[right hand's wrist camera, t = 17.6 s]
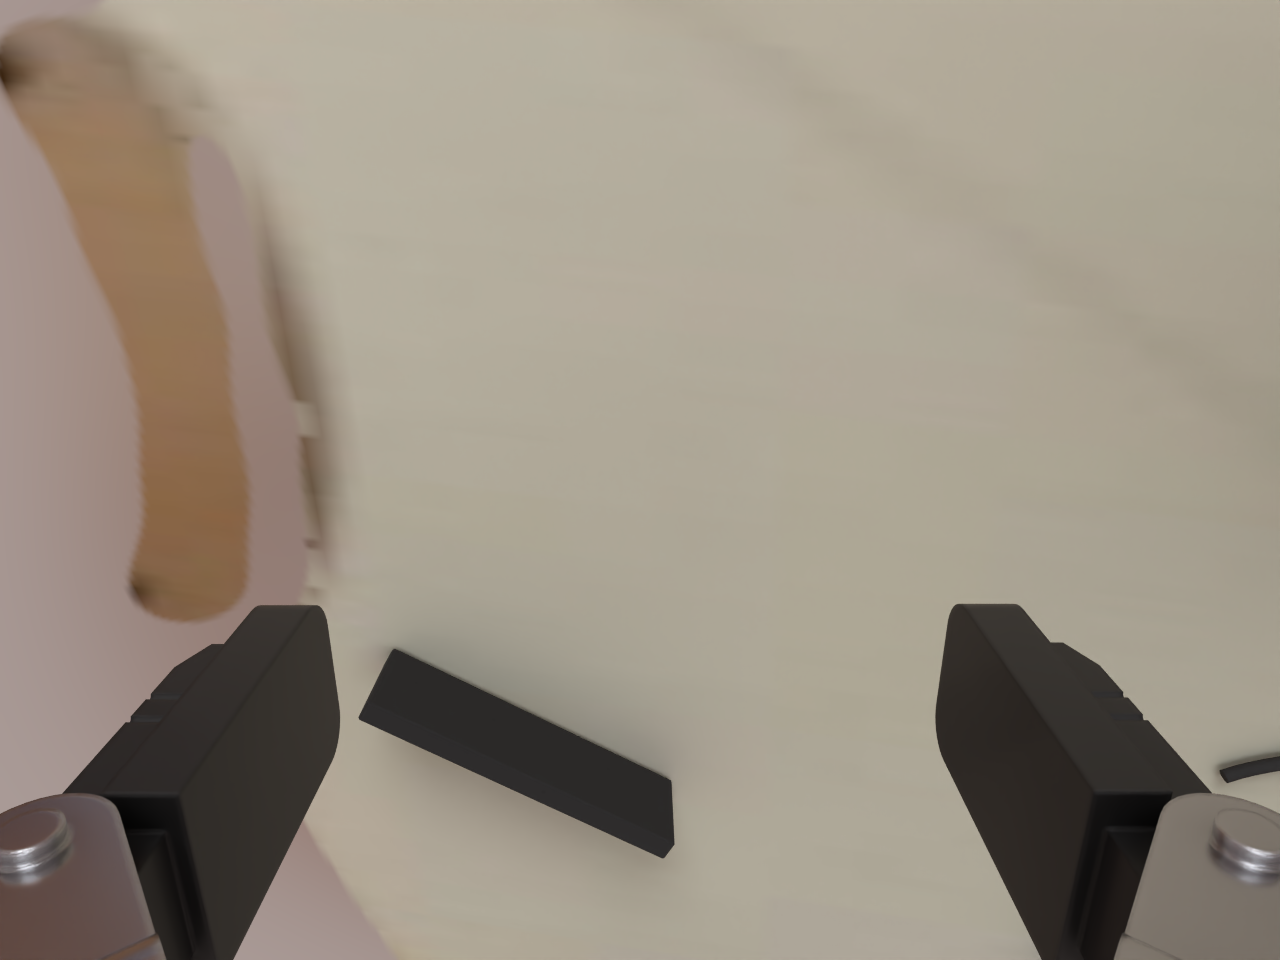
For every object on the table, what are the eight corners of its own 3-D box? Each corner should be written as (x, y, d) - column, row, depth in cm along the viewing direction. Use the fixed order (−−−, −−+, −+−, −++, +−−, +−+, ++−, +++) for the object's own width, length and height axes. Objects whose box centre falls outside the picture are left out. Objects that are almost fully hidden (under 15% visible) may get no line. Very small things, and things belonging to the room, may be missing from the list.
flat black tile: (384, 665, 48) (356, 721, 44) (393, 647, 48) (367, 701, 43) (660, 796, 51) (662, 861, 47) (672, 780, 51) (675, 844, 46)
